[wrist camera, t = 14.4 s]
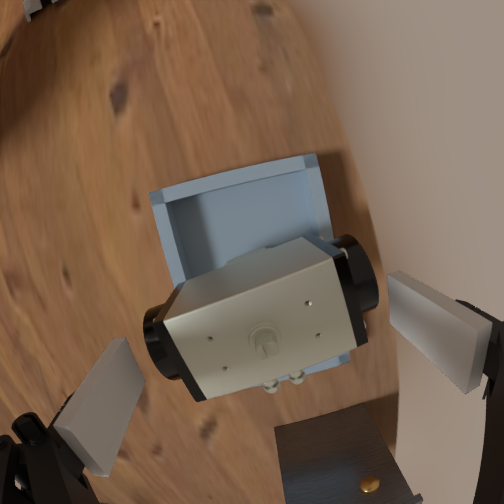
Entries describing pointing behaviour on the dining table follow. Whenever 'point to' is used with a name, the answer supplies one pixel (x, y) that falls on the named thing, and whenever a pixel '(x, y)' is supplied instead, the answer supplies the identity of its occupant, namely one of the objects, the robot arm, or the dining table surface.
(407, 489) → the box
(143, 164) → the dining table surface
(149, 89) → the dining table surface
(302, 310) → the pneumatic valve
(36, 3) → the grey curved fin
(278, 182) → the tray
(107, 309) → the dining table surface
